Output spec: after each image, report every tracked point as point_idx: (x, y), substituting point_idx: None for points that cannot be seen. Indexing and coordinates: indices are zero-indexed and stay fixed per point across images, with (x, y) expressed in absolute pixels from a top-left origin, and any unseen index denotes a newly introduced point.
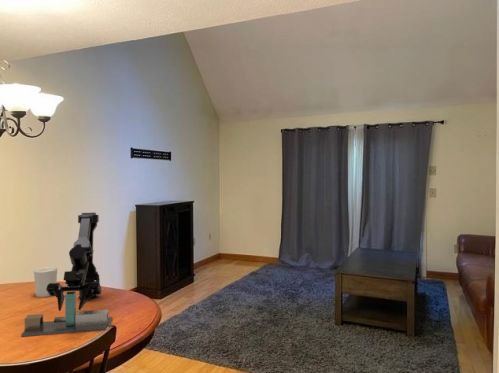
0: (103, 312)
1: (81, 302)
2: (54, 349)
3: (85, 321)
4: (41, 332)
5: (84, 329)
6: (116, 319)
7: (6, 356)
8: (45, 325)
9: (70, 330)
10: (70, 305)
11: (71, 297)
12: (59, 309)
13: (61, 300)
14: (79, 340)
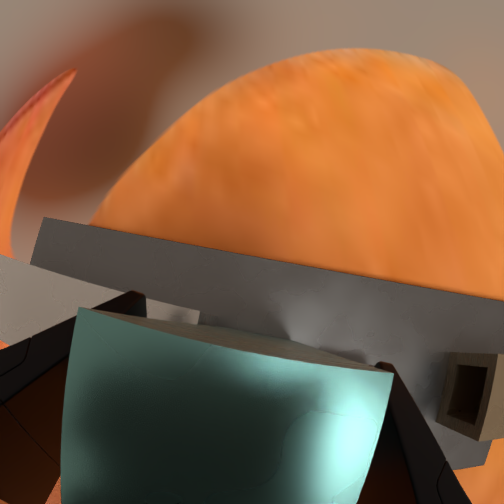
0: (4, 275)
1: (74, 326)
2: (317, 84)
3: None
4: (434, 289)
5: (161, 239)
6: None
7: (480, 115)
8: (424, 408)
9: (252, 256)
10: (237, 334)
11: (187, 332)
12: (382, 362)
13: (388, 490)
14: (202, 131)
